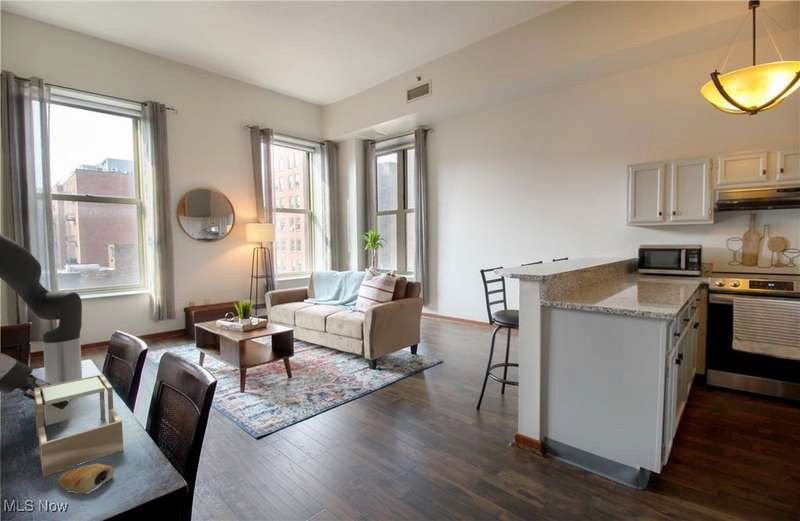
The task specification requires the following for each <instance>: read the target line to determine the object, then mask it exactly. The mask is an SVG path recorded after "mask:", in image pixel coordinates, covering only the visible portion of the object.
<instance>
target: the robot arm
mask: <svg viewBox="0 0 800 521" xmlns="http://www.w3.org/2000/svg"><path fill="white" fill-rule="evenodd" d="M41 276H42V266H41V263H40V262H39V260H37V259H36V257H35V256H34V255H33V254H32V253H31V251H29V250H28V249H27V248H26V247H24V246H23V245H21V244H20V243H18V242H16V241H15V240H13V239H11V238H9V237H7V236H5V235H3V234H1V233H0V280H2V281H3V282H5V283H6V284H7V285H8V286H9V287H10V288H12V290H13V291H14V293H16V294H17V296H19V297H20V298H21V300H23V301H24V303H25V304H26V305H27V306H28V308H29V309H30V310H31V312H32V313H33V314H34V315H35V316H36V317H37V318H38V319H42V320H47V321H54V320H55V321H58V320H59V322H58V326H57V327H56V328H53V329H51V330H48V331H45V332H44V333H43V334H42V346H43V347H42V349H43V363H44V365H43V367H44V380H43V379H42V378H38V377H37V376H35V375H33V374H32V372H33V370H34V368H33V367H32V366H30V365H27V364H26V363H23V362H21V361H19V360H17V359H15V358H13V357H11V356H10V355H7V354H5V353H1V352H0V392H1V393H2V394H5V395H6V394H7V395H8V394H10V393H12V392H14V391H15V390H16V389H18V390H20V391H21V395H23V397H26V398H27V399H28V398H29V399H31V400H33V401H35V394H34V388H39V387H44V386H49V385H53V384H58V383H63V382H68V381H73V380H77V379H82V378H83V371H82V370H83V369H82V367H83V366H82V350H81V349H82V347H81V330H82V325H83V323H82V322H83V321H82V319H83V318H82V316H83V306H82V305H83V304H82V298H81V296H80V295H79V293H77V292H75V291H55V292H54V291H53V292H52V291H50V290H47V289H46V287H44V286H43V285H42V283H41V282H40V281H41ZM40 394H41V398H42V402H43V406H44V405H45V401H44V397H43V393H42V391H41V392H40ZM68 404H69V402H68V401H62V402H58V403H53V404H50V405H53V406H55V407H57V408H59V409H64V408H65V407H66V406H67V405H68Z"/></svg>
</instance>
